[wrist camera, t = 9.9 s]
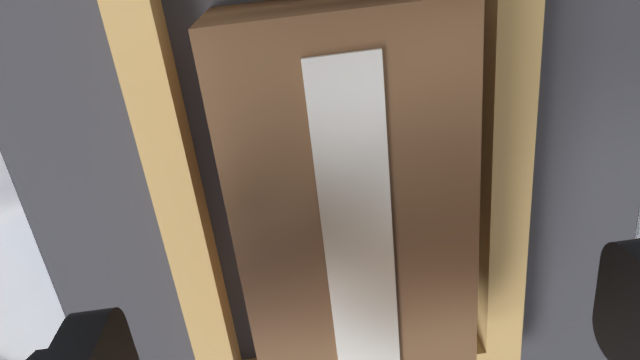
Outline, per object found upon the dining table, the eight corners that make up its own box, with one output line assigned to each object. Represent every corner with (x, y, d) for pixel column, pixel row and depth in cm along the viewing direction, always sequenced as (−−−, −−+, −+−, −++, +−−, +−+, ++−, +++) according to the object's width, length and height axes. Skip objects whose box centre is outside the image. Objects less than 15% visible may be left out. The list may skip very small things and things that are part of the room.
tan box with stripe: (209, 7, 12) (186, 30, 9) (436, -21, 12) (487, -7, 9) (270, 329, 15) (268, 418, 12) (441, 307, 15) (477, 390, 13)
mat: (135, 459, 18) (121, 510, 17) (-139, -272, 10) (-223, -313, 8) (591, 397, 19) (621, 441, 17) (706, -366, 10) (788, -425, 8)
